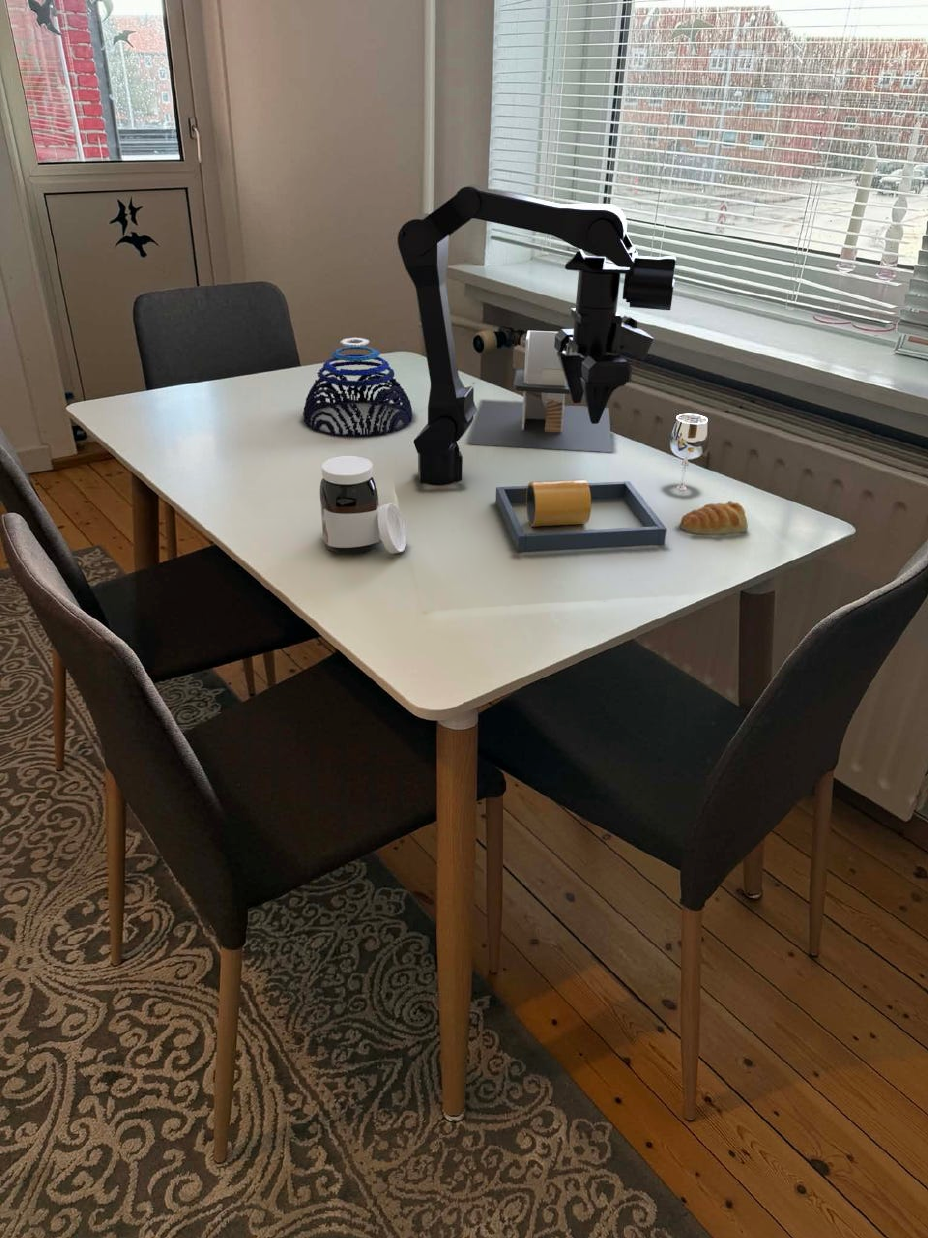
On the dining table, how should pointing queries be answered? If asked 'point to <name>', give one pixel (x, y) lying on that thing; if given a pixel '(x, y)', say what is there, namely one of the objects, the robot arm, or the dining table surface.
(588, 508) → the tapered yellow cylinder
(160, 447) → the dining table surface
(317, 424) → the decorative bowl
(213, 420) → the dining table surface
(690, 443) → the wineglass
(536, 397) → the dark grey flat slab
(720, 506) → the pastry
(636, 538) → the blue tray
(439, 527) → the dining table surface
